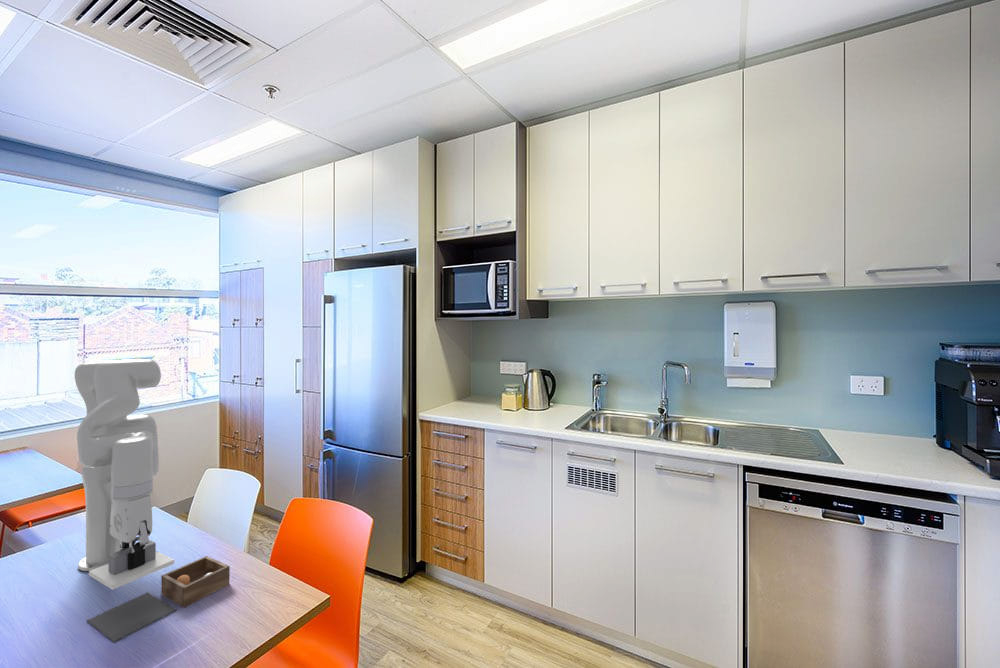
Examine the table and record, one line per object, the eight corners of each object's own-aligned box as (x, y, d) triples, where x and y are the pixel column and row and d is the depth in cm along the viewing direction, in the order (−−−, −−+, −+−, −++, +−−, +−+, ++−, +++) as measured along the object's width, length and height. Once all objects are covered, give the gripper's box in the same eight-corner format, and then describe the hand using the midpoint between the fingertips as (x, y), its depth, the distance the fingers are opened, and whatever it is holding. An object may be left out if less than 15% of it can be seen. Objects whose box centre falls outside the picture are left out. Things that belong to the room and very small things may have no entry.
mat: (86, 621, 100) (86, 620, 100) (147, 593, 110) (147, 592, 110) (114, 642, 93) (114, 640, 93) (176, 610, 104) (176, 609, 104)
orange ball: (172, 589, 111) (172, 577, 111) (186, 582, 114) (186, 571, 114) (179, 592, 109) (179, 580, 109) (192, 586, 112) (192, 574, 112)
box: (161, 594, 110) (161, 575, 110) (206, 573, 120) (206, 555, 120) (184, 607, 105) (184, 587, 105) (229, 584, 115) (229, 566, 115)
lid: (88, 575, 99) (88, 554, 99) (150, 551, 109) (150, 532, 109) (112, 589, 93) (112, 567, 93) (174, 563, 104) (174, 543, 104)
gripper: (97, 488, 102) (97, 564, 102) (129, 501, 94) (129, 582, 94) (135, 478, 108) (135, 549, 108) (168, 489, 101) (168, 566, 101)
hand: (132, 564), depth 101 cm, fingers closed on lid, 3 cm apart
